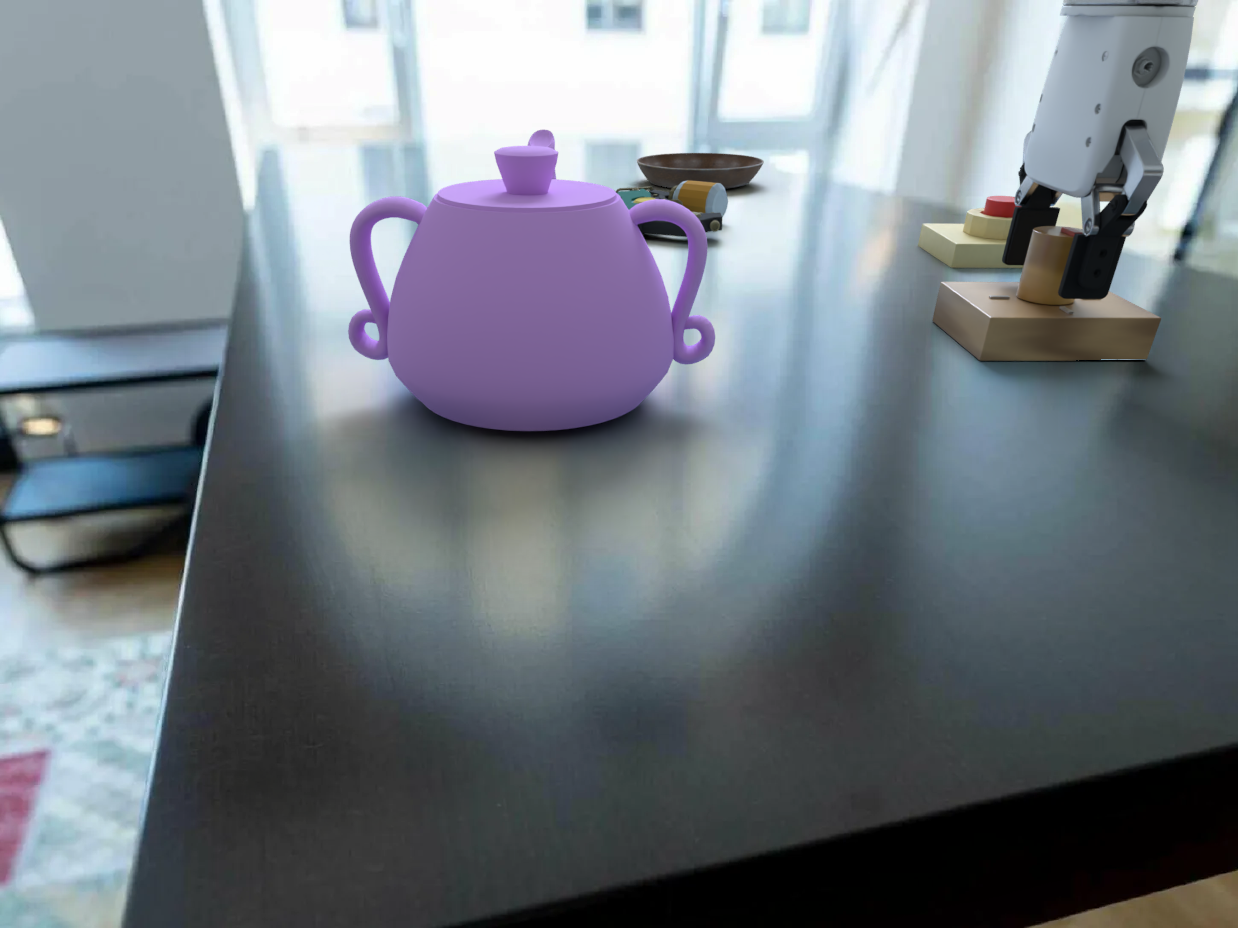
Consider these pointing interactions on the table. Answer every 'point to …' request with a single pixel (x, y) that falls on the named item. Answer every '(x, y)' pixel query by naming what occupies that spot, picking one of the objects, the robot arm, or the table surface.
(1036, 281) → the dial knob
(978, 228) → the button box
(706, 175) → the plant saucer
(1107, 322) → the panel
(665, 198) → the spray gun
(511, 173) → the purple sugar bowl
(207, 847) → the table surface
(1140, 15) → the robot arm
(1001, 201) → the button
